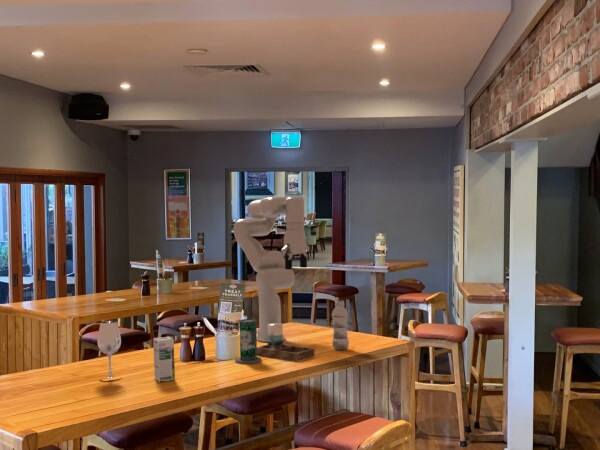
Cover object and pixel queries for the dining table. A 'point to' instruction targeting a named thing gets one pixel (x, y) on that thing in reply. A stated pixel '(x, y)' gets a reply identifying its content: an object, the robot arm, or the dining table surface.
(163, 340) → the syrup box
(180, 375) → the dining table surface
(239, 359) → the slate coaster
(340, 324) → the plastic bottle
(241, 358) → the can
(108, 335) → the wineglass
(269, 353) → the brown wooden tray
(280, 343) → the can
